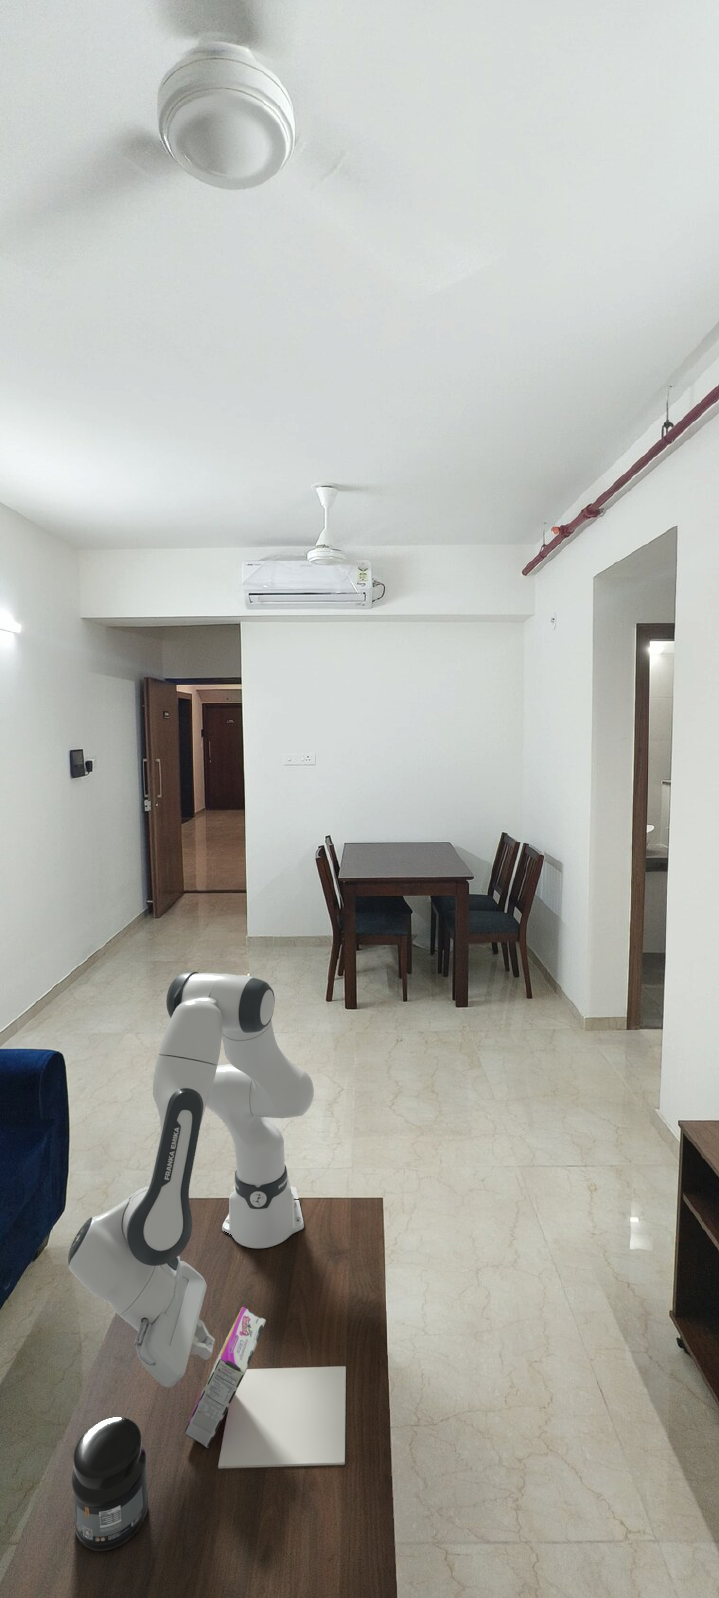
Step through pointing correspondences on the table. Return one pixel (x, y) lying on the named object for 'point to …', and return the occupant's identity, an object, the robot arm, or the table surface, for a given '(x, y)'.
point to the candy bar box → (225, 1377)
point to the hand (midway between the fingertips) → (211, 1350)
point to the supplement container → (109, 1484)
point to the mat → (286, 1419)
